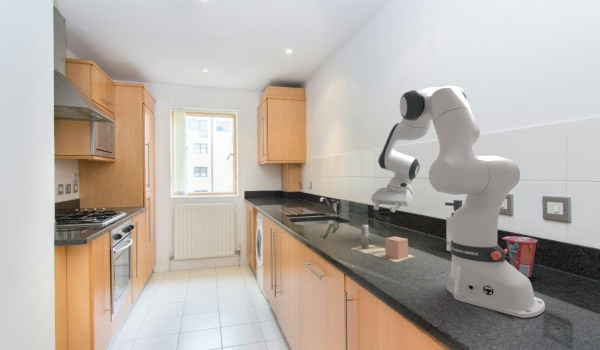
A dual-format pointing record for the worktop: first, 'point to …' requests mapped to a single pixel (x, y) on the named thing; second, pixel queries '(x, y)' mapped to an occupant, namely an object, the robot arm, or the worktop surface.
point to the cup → (521, 253)
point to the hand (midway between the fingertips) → (383, 210)
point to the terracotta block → (396, 247)
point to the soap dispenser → (457, 205)
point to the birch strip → (374, 247)
